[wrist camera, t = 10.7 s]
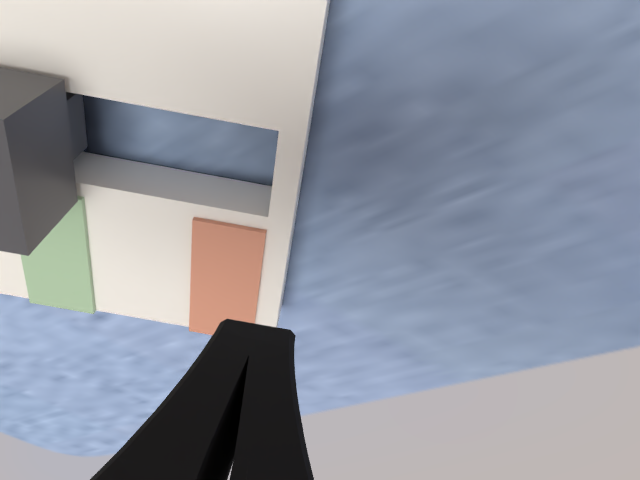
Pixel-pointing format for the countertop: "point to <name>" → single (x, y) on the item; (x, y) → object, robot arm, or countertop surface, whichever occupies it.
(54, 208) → the switch handle
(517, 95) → the countertop surface
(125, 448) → the robot arm
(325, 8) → the switch board
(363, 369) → the countertop surface
